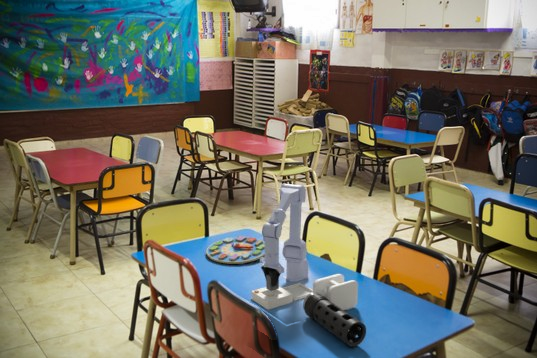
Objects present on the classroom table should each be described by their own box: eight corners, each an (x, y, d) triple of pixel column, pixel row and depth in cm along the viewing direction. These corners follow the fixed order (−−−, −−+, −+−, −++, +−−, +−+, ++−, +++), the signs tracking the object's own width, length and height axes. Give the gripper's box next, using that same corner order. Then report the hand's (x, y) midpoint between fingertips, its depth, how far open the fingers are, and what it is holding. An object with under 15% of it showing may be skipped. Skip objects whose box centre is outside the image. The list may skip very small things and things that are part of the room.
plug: (274, 286, 237) (274, 272, 235) (278, 288, 234) (278, 274, 233) (266, 288, 234) (266, 274, 233) (270, 290, 232) (270, 276, 231)
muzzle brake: (344, 352, 197) (345, 324, 195) (300, 319, 221) (301, 294, 218) (366, 345, 201) (367, 318, 199) (321, 313, 225) (322, 289, 223)
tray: (299, 286, 250) (299, 282, 250) (316, 295, 241) (316, 291, 241) (278, 292, 244) (278, 288, 244) (294, 302, 235) (294, 298, 235)
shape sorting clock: (193, 257, 285) (193, 245, 284) (232, 240, 310) (231, 229, 308) (243, 270, 268) (243, 258, 267) (279, 252, 293) (279, 240, 291)
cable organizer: (328, 316, 223) (328, 288, 220) (311, 306, 231) (311, 279, 228) (357, 307, 231) (358, 280, 228) (340, 297, 239) (341, 271, 236)
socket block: (275, 293, 244) (275, 282, 242) (292, 303, 234) (292, 292, 233) (251, 300, 237) (251, 289, 236) (267, 311, 227) (267, 300, 226)
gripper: (253, 249, 234) (253, 280, 237) (273, 259, 223) (273, 292, 226) (267, 245, 238) (267, 276, 241) (288, 256, 226) (288, 288, 229)
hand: (271, 284), depth 234 cm, fingers closed on plug, 3 cm apart
